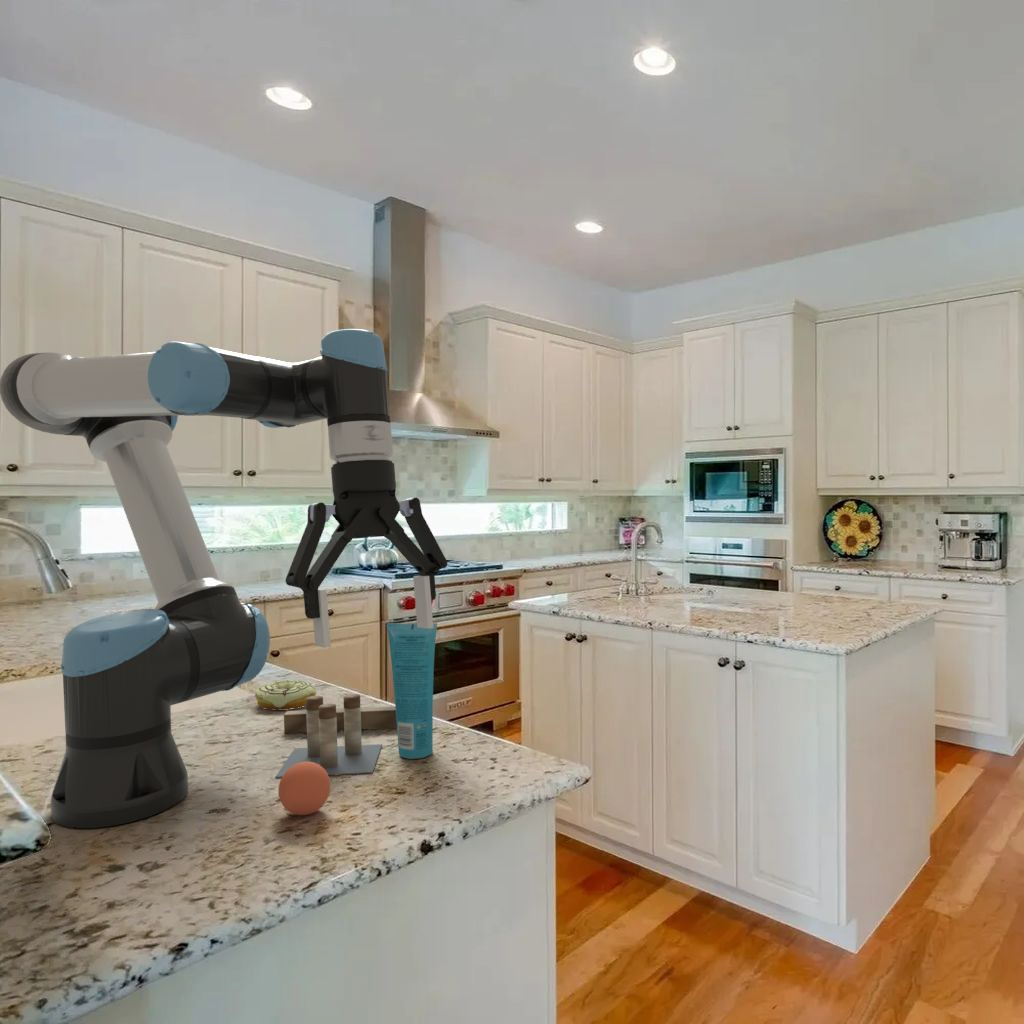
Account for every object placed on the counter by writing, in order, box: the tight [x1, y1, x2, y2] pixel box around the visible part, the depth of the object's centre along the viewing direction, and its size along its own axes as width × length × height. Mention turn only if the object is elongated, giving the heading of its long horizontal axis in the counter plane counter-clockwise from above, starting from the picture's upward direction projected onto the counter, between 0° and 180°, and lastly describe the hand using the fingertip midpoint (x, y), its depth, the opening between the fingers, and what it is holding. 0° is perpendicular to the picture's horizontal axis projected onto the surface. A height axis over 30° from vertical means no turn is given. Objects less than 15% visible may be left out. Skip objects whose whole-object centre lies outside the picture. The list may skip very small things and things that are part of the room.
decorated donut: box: [254, 679, 317, 710], centre depth 133 cm, size 10×11×4 cm
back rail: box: [283, 706, 397, 734], centre depth 117 cm, size 20×2×3 cm, turn 94°
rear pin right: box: [305, 695, 324, 757], centre depth 105 cm, size 2×2×8 cm
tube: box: [386, 622, 438, 760], centre depth 105 cm, size 7×5×19 cm, turn 89°
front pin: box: [319, 703, 338, 768], centre depth 101 cm, size 2×2×8 cm
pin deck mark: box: [275, 743, 383, 777], centre depth 103 cm, size 13×11×1 cm
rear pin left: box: [342, 693, 363, 755], centre depth 105 cm, size 2×2×8 cm
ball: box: [277, 762, 332, 816], centre depth 86 cm, size 6×6×6 cm
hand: (376, 636), depth 86 cm, fingers open, 13 cm apart
